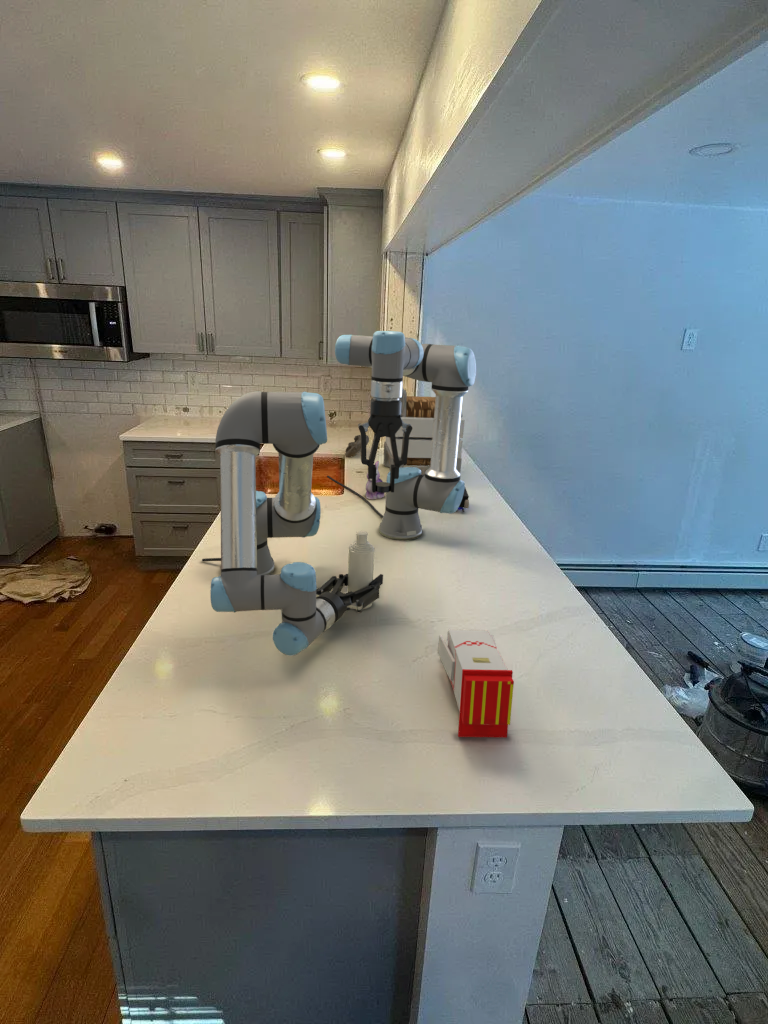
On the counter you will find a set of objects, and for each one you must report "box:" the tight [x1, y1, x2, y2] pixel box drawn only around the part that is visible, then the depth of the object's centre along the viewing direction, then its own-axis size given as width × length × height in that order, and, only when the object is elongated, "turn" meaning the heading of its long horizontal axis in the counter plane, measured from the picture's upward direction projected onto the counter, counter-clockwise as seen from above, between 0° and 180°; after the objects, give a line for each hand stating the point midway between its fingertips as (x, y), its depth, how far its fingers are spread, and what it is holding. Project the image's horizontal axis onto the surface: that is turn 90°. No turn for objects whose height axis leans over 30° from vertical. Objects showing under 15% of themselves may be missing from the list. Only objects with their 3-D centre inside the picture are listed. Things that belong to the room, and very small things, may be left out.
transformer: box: [383, 387, 465, 475], centre depth 268 cm, size 34×33×41 cm
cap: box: [376, 481, 391, 494], centre depth 144 cm, size 4×4×2 cm
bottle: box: [347, 530, 375, 610], centre depth 149 cm, size 7×7×20 cm
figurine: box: [364, 460, 385, 500], centre depth 235 cm, size 9×10×15 cm
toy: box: [437, 628, 515, 738], centre depth 117 cm, size 12×13×30 cm
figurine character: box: [455, 487, 470, 513], centre depth 227 cm, size 7×8×15 cm
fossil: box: [344, 434, 370, 458], centre depth 304 cm, size 22×10×15 cm
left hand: (369, 575), depth 154 cm, fingers closed on bottle, 7 cm apart
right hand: (382, 490), depth 144 cm, fingers closed on cap, 4 cm apart
